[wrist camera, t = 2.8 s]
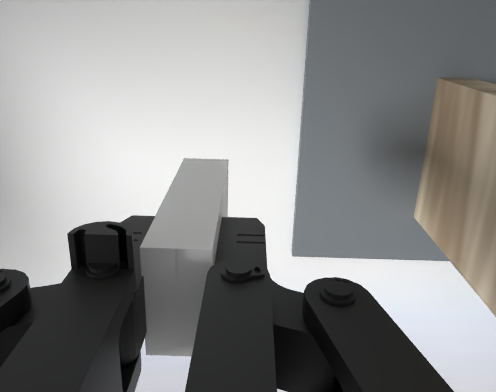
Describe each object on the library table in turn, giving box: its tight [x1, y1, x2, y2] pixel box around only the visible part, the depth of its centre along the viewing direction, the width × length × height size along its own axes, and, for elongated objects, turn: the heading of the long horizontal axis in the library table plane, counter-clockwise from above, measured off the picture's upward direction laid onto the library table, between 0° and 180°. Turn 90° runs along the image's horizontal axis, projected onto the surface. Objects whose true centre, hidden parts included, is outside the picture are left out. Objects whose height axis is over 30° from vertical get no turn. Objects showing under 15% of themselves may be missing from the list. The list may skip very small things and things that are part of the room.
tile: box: [414, 78, 496, 316], centre depth 18 cm, size 2×7×10 cm, turn 178°
